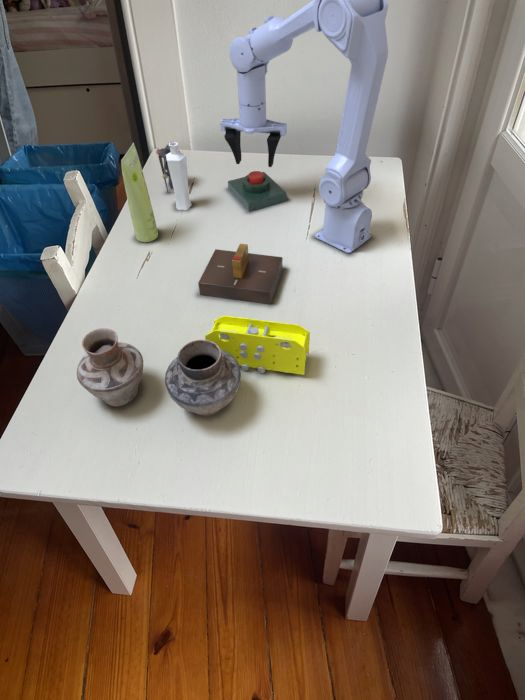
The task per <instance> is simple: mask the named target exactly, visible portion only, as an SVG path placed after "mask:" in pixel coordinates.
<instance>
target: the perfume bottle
mask: <svg viewBox="0 0 525 700" xmlns="http://www.w3.org/2000/svg"><path fill="white" fill-rule="evenodd" d="M170 142H171V143H170ZM170 142H169V143H168V144H169V146H170V153H168V154H166V159H167V163H168V168H169V172H170V176H171V180H172V184H173V188H174V189H173V191H174V195H175V207H176V210H178V211H187V210H189V209H190V208H191V207H192V202H191V200H190V192H189V177H188V164H187V155H186V154H185V153H182V152H181V151H180V150H179V143H178V142H176V141H170ZM179 151H180V152H179Z"/></svg>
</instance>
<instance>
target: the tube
mask: <svg viewBox="0 0 525 700" xmlns="http://www.w3.org/2000/svg"><path fill="white" fill-rule="evenodd" d="M120 165H121V167H120V168H121V174H122V180H123V184H124V185H123V186H124V189H125V194H126V200H127V203H128V204H127V205H128V209H129V214H130V218H131V222H132V226H133V230H134V235H135V238H136V240H137V241H138V242H141V243H151V242H153V241H155V240H156V239H157V238H158V236H159V231H158V226H157V222H156V218H155V214H154V209H153V206H152V201H151V198H150V194H149V189H148V185H147V182H146V178H145V175H144V171H143V167H142V164H141V161H140V157H139V154H138V151H137V148H136V146H135V142H132V144H131V145H130V147H129V149H128V150H127V151H126V153H125V154H124V156H123V157H122V159H121V160H120Z"/></svg>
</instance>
